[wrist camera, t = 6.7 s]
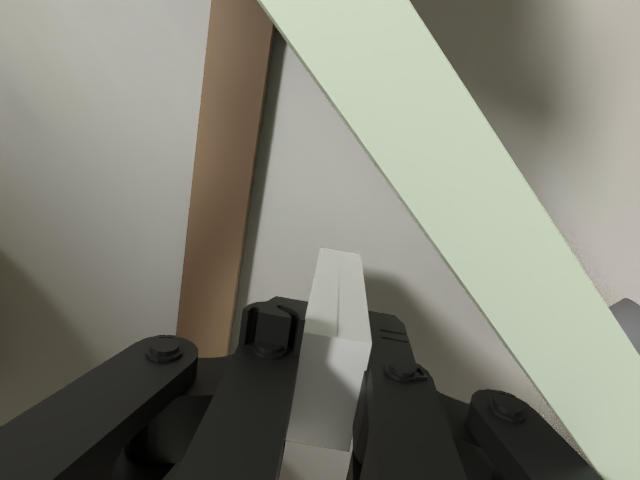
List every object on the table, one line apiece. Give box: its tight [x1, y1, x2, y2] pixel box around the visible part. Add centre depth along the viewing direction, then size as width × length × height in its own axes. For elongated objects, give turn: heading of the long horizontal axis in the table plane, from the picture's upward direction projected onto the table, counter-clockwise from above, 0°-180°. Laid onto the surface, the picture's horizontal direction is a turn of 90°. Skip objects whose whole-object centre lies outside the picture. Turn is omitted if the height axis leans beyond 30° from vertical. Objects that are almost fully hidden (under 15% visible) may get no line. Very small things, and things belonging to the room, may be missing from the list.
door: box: [257, 0, 640, 480], centre depth 10 cm, size 18×3×10 cm, turn 37°
